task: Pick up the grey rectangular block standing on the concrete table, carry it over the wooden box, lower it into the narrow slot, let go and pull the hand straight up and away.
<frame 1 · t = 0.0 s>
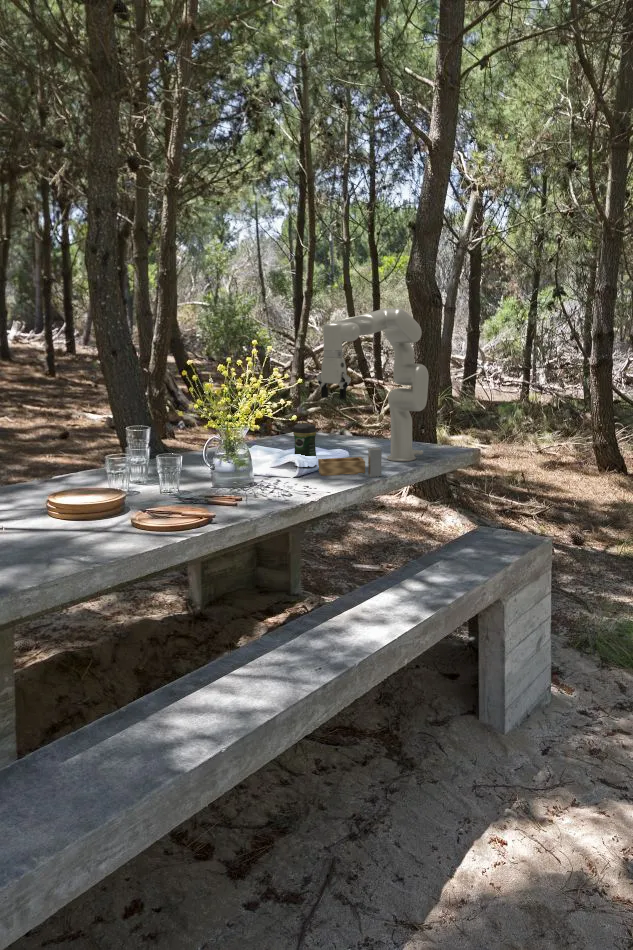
hand: (333, 398, 325), 31 cm above the table, tool pointing down, fingers open, 9 cm apart
coffee jar: (305, 467, 350), on the table
grey rectangular block: (374, 476, 327), on the table
wooden box: (341, 472, 335), on the table
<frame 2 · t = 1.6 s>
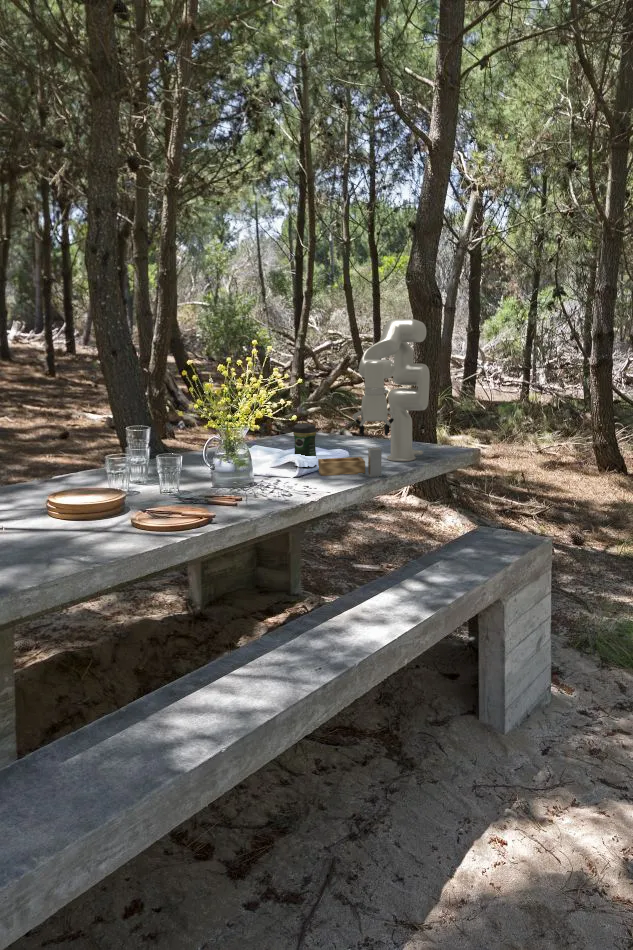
hand: (374, 435, 323), 17 cm above the table, tool pointing down, fingers open, 9 cm apart
nothing on the table moved.
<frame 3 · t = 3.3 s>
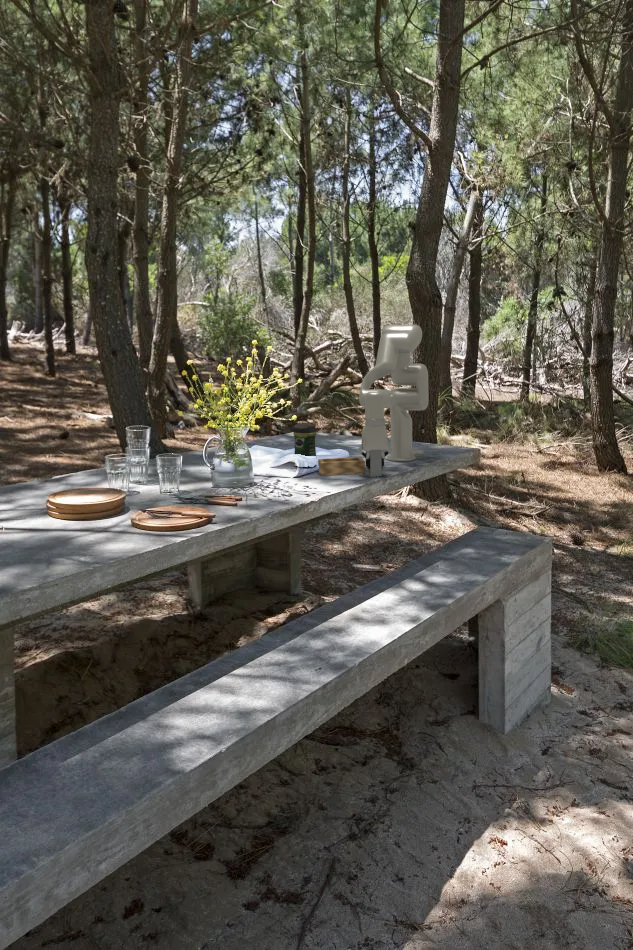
hand: (374, 467, 326), 3 cm above the table, tool pointing down, fingers closed on grey rectangular block, 4 cm apart
grey rectangular block: (374, 476, 327), on the table, touching gripper
everything else where it was.
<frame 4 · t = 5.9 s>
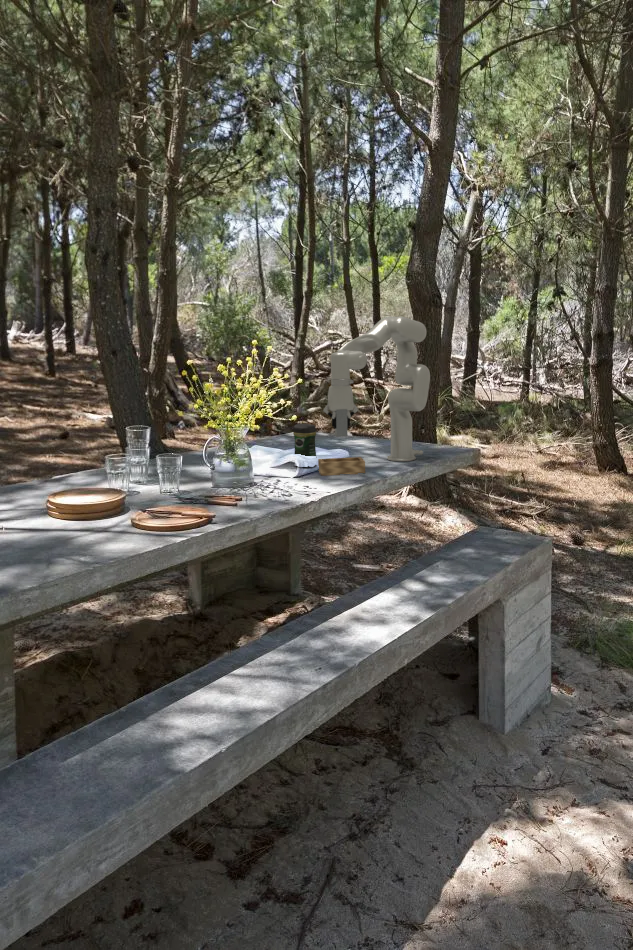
hand: (341, 427, 331), 19 cm above the table, tool pointing down, fingers closed on grey rectangular block, 4 cm apart
grey rectangular block: (341, 435, 332), point 15 cm above the table, touching gripper
everything else where it was.
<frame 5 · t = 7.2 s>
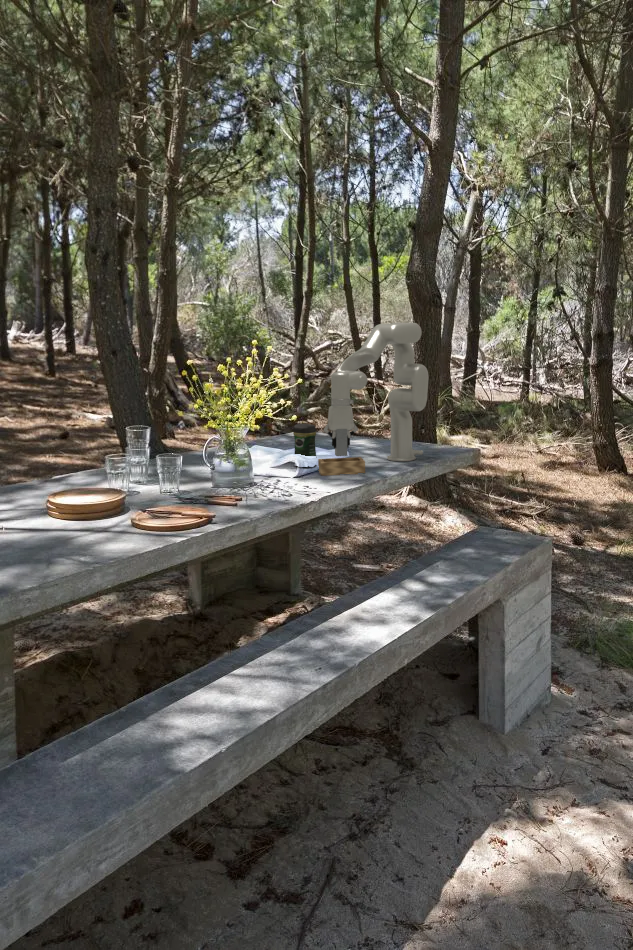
hand: (341, 447, 333), 11 cm above the table, tool pointing down, fingers closed on grey rectangular block, 4 cm apart
grey rectangular block: (341, 455, 333), point 7 cm above the table, touching gripper
everything else where it was.
when the fingers open (6 cm above the table, at t = 8.5 s): grey rectangular block drops 2 cm, resting on wooden box.
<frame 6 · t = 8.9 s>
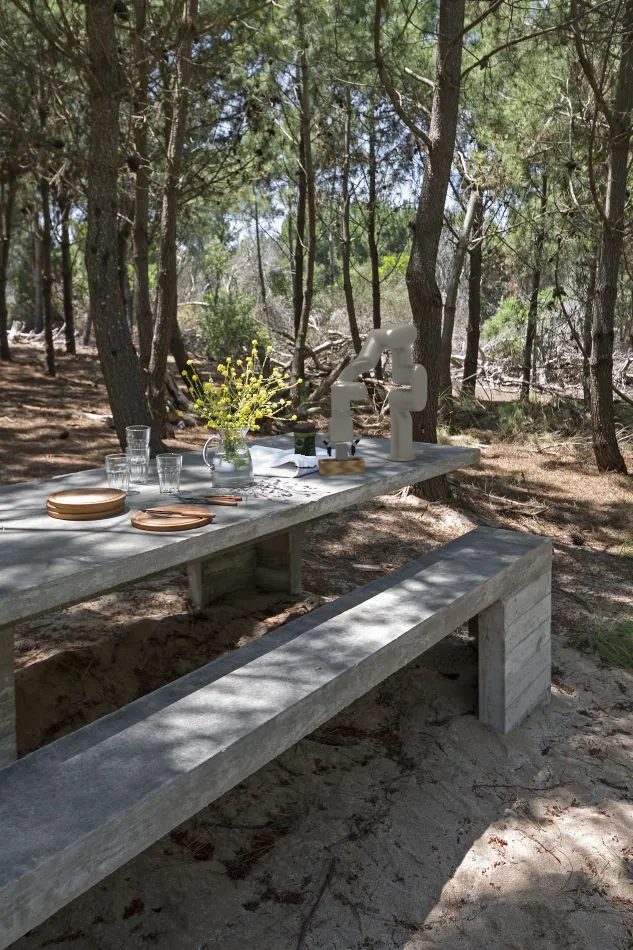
hand: (341, 455, 334), 7 cm above the table, tool pointing down, fingers open, 9 cm apart
grey rectangular block: (341, 470, 335), point 1 cm above the table, touching wooden box
everything else where it was.
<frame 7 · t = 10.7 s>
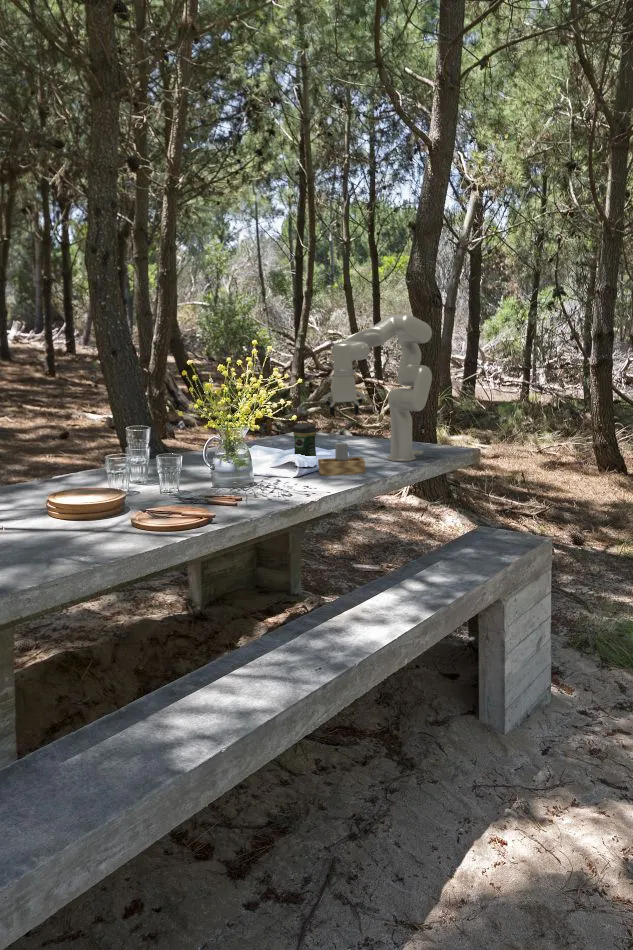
hand: (344, 415, 334), 23 cm above the table, tool pointing down, fingers open, 9 cm apart
nothing on the table moved.
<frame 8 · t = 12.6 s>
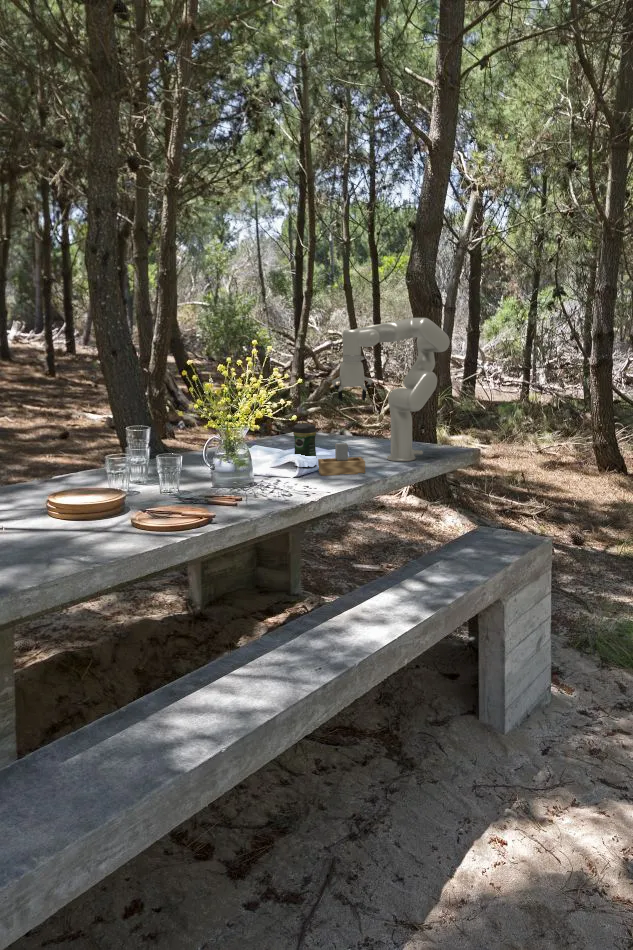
hand: (352, 400, 343), 28 cm above the table, tool pointing down, fingers open, 9 cm apart
nothing on the table moved.
at the end: grey rectangular block inside the target area on the wooden box (0.1 cm from its centre), point 0.8 cm above the wooden box's base; grey rectangular block tilted 0°; the gripper is holding nothing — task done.
